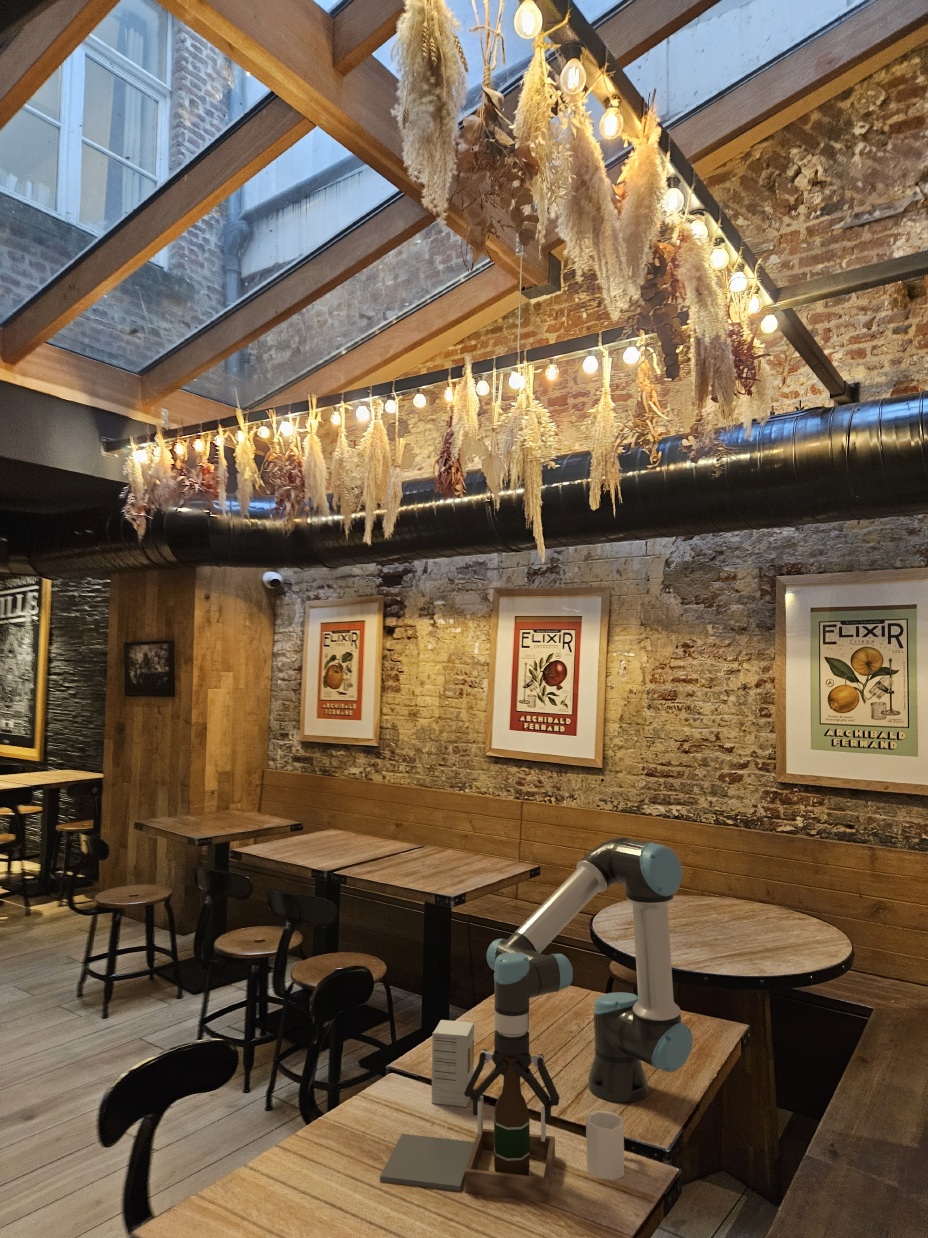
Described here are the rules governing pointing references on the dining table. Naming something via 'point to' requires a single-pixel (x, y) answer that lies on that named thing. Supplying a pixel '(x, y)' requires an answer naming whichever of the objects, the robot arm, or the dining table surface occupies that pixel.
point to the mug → (605, 1145)
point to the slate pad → (428, 1162)
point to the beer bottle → (511, 1126)
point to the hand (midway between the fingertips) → (511, 1135)
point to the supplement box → (452, 1062)
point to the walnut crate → (507, 1182)
